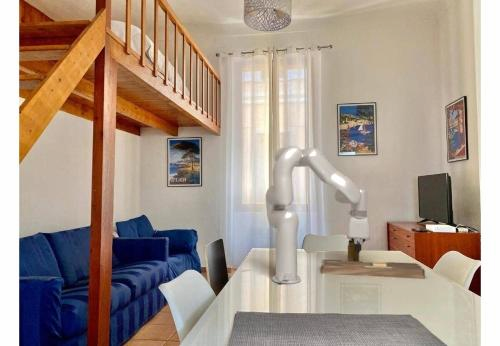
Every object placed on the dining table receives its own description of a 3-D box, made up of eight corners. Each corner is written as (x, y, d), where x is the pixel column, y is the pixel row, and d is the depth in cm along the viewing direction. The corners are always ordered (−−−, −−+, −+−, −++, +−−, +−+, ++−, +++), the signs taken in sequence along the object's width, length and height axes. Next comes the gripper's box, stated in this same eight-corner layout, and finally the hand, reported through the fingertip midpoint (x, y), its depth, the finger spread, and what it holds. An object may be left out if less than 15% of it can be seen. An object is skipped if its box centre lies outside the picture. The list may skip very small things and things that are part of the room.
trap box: (424, 278, 169) (424, 269, 169) (321, 273, 179) (321, 264, 179) (418, 272, 181) (418, 263, 181) (322, 267, 191) (322, 259, 191)
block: (386, 275, 175) (386, 264, 176) (373, 275, 177) (373, 264, 177) (384, 272, 181) (384, 262, 181) (371, 272, 183) (371, 261, 183)
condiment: (352, 260, 208) (352, 239, 209) (365, 263, 202) (365, 240, 202) (344, 262, 204) (344, 240, 204) (357, 265, 197) (357, 242, 197)
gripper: (343, 213, 180) (342, 252, 179) (375, 215, 176) (374, 254, 176) (342, 213, 187) (341, 249, 186) (374, 214, 184) (373, 252, 183)
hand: (357, 252), depth 181 cm, fingers closed
